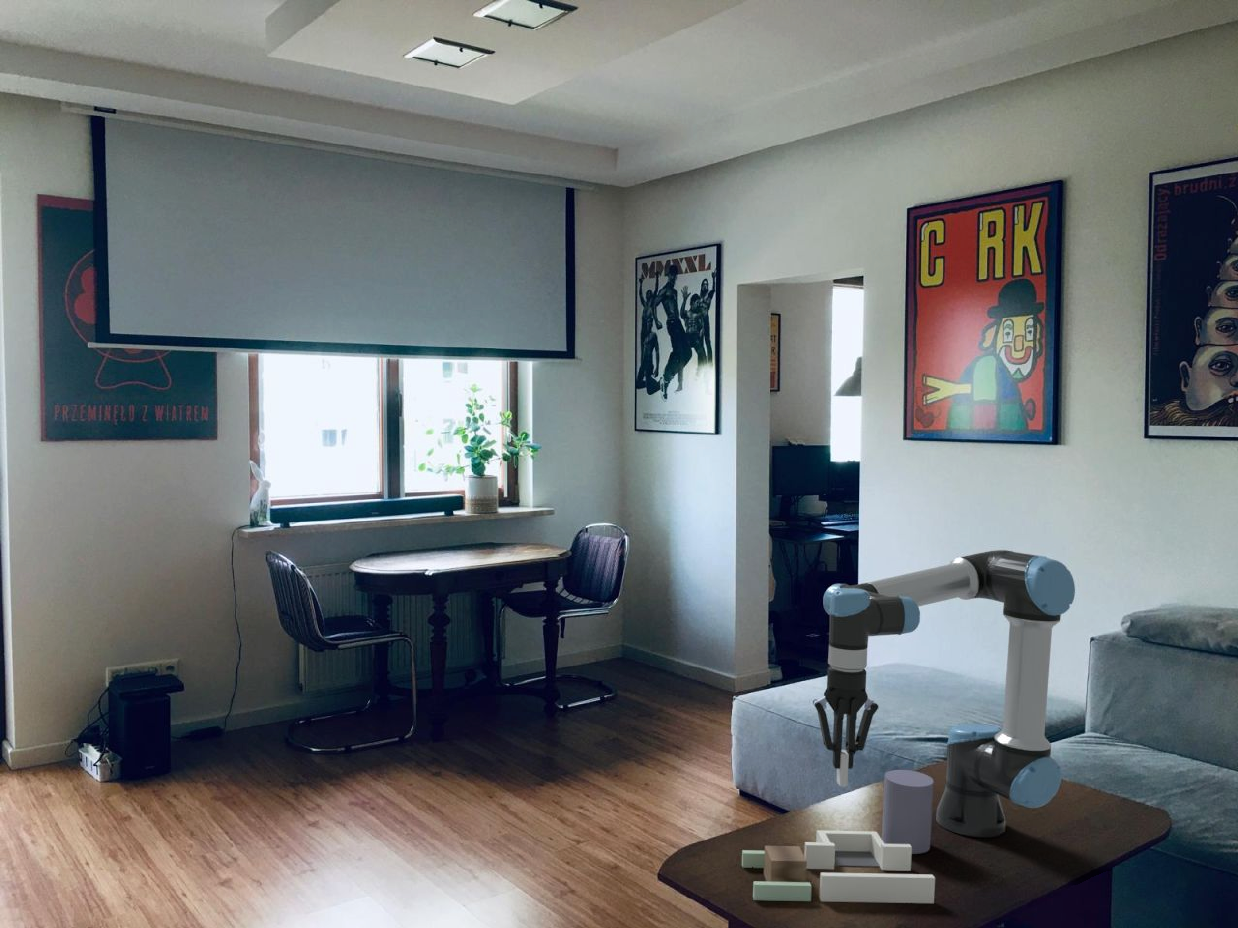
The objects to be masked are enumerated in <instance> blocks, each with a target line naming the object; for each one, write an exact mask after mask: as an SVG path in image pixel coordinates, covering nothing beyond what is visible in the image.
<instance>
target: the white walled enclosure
mask: <svg viewBox="0 0 1238 928" xmlns="http://www.w3.org/2000/svg"><path fill="white" fill-rule="evenodd" d="M815 840H816V841H813V842H812V841H804V851H803V852H804V853H803V855H804V857H805V859H806V861H807V866H806V870H835V867H857V868H859V867H862V868H863V867H865V868H880V869H881V871H896V872H897V871H901V872H903V871H908V872H909V871H910V872H911V871H912V870H911V869H912V855H913V854H912V847H911V845H910V844H885V843H884V842H883V840H882V837H881V836H880V834H879V833H878V832H877V831H867V830H865V831H863V830H861V831H860V830H821V829H820V830H819V829H818V830H816V839H815ZM935 889H936V877H935V876H934V875H933V874H931V873H930V874H924V873H923V874H922V873H921V874H920V873H919V874H917V873H875V872H874V873H873V872H872V873H870V872H869V873H867V872H865V873H864V872H857V873H856V872H826V871H825V872H820V875H819V894H818V895H819V896H818V898H819V900H820V902H833V903H834V902H835V903H836V902H838V903H839V902H841V903H842V902H844V903H845V902H846V903H847V902H848V903H892V904H893V903H895V904H896V903H897V904H899V903H900V904H902V903H903V904H906V903H907V904H911V903H912V904H935Z"/></svg>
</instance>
